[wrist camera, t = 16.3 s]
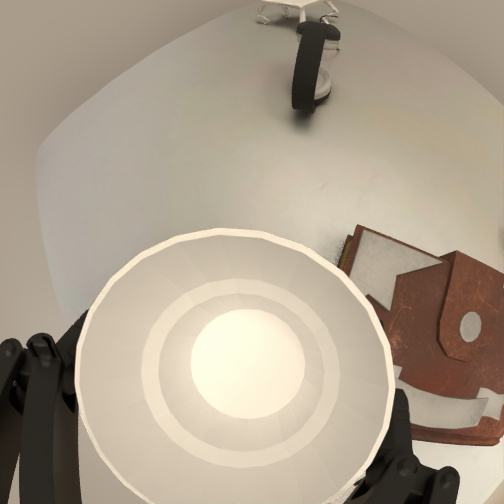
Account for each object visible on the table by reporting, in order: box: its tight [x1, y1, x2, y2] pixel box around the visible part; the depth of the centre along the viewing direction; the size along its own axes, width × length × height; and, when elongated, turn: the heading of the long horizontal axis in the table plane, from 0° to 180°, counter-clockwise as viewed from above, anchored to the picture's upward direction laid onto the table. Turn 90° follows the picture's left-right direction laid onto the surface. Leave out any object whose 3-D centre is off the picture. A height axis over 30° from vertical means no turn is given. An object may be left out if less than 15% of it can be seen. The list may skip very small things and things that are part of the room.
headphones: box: [292, 15, 340, 113], centre depth 27 cm, size 10×4×20 cm
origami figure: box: [256, 0, 339, 24], centre depth 32 cm, size 12×8×5 cm
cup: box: [75, 228, 395, 504], centre depth 12 cm, size 10×10×10 cm
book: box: [337, 224, 504, 446], centre depth 19 cm, size 23×16×5 cm
